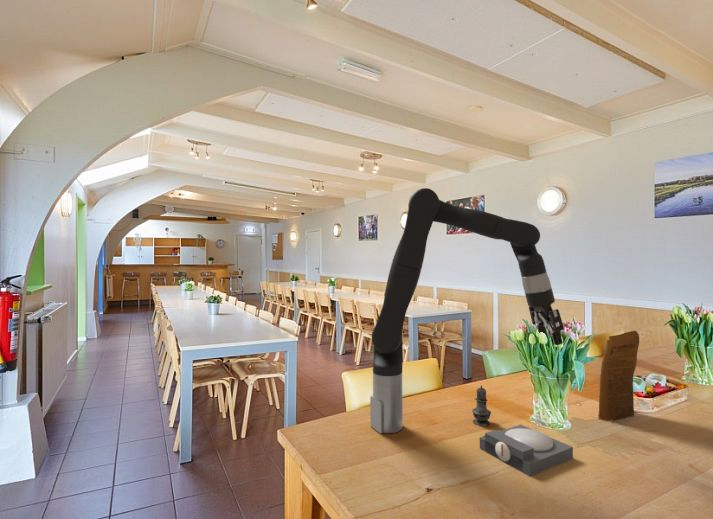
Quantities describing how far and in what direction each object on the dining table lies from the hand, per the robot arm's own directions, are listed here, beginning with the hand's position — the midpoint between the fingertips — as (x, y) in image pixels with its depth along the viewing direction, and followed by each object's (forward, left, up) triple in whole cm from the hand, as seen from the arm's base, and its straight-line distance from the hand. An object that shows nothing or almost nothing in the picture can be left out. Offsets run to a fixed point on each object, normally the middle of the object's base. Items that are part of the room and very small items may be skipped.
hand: (551, 341), depth 117 cm
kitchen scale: (-17, -4, -28) cm, 33 cm away
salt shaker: (-12, +16, -28) cm, 34 cm away
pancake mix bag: (+31, -3, -28) cm, 42 cm away
